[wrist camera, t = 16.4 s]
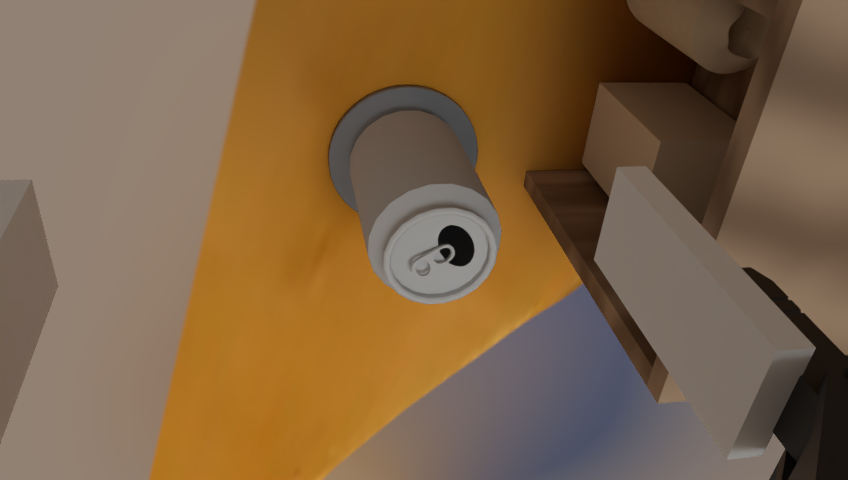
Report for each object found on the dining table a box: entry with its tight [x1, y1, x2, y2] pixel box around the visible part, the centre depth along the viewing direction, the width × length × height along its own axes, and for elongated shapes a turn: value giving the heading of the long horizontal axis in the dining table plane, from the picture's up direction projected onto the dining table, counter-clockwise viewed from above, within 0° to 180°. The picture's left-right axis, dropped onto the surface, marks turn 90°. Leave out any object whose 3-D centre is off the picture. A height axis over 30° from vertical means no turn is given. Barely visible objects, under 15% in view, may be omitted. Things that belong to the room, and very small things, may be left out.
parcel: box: [582, 83, 736, 225], centre depth 47 cm, size 6×6×9 cm
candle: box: [627, 0, 771, 74], centre depth 41 cm, size 6×6×10 cm
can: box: [350, 111, 502, 304], centre depth 43 cm, size 8×8×12 cm
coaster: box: [328, 85, 478, 212], centre depth 48 cm, size 10×10×1 cm
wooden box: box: [524, 0, 848, 403], centre depth 39 cm, size 19×12×21 cm, turn 176°
